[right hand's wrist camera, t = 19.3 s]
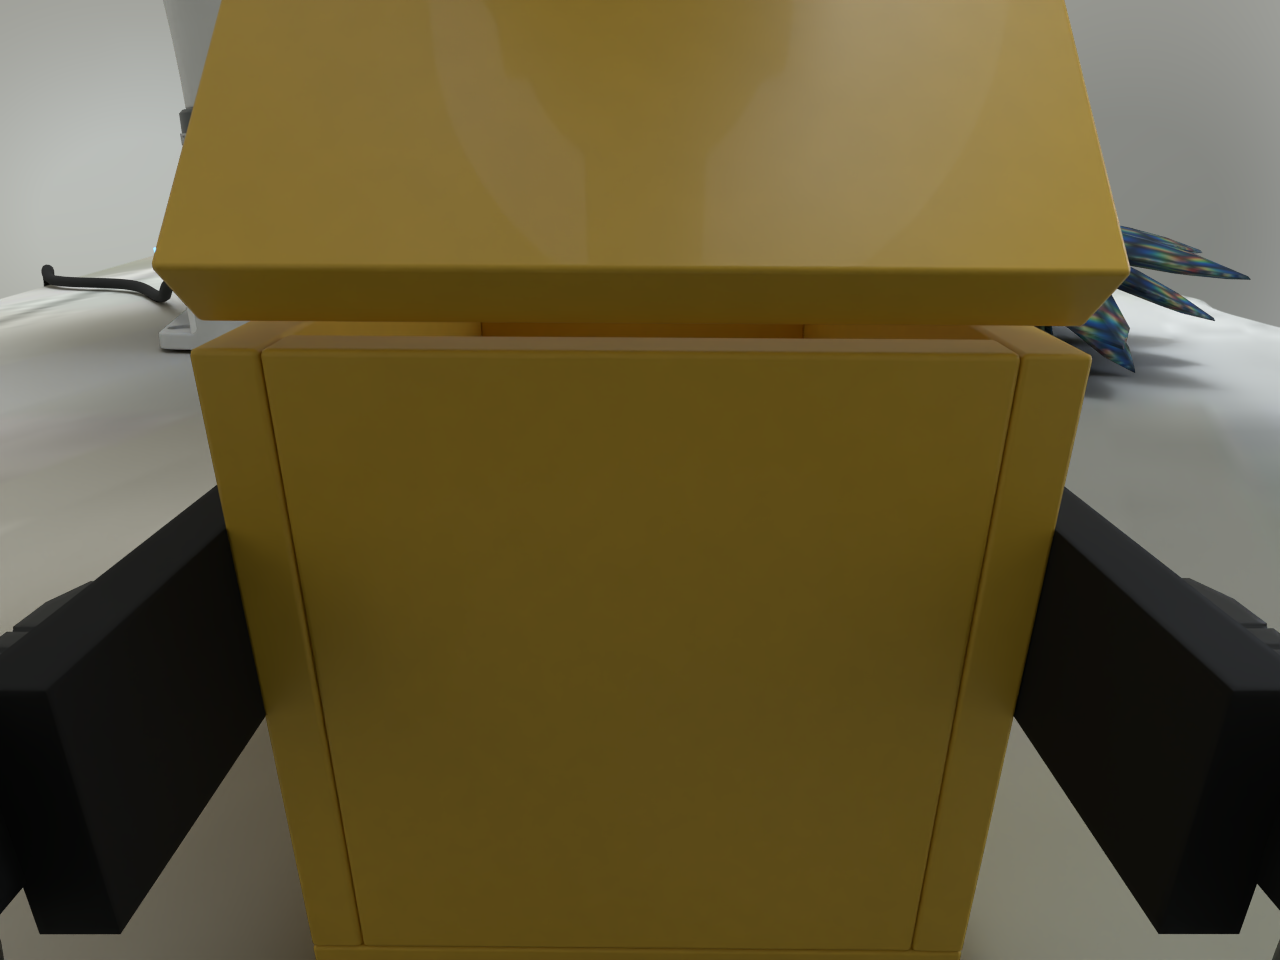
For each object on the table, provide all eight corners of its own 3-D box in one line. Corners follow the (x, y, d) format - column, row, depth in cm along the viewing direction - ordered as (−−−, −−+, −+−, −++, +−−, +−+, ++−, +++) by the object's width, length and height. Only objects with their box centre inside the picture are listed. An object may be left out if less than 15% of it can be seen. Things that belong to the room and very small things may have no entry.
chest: (477, 568, 25) (449, 222, 21) (805, 570, 25) (836, 224, 21) (319, 982, 13) (185, 349, 9) (955, 988, 13) (1095, 355, 9)
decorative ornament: (649, 368, 48) (1267, 432, 37) (650, 225, 45) (1320, 248, 35) (779, 293, 75) (1165, 317, 64) (785, 199, 72) (1190, 207, 61)
